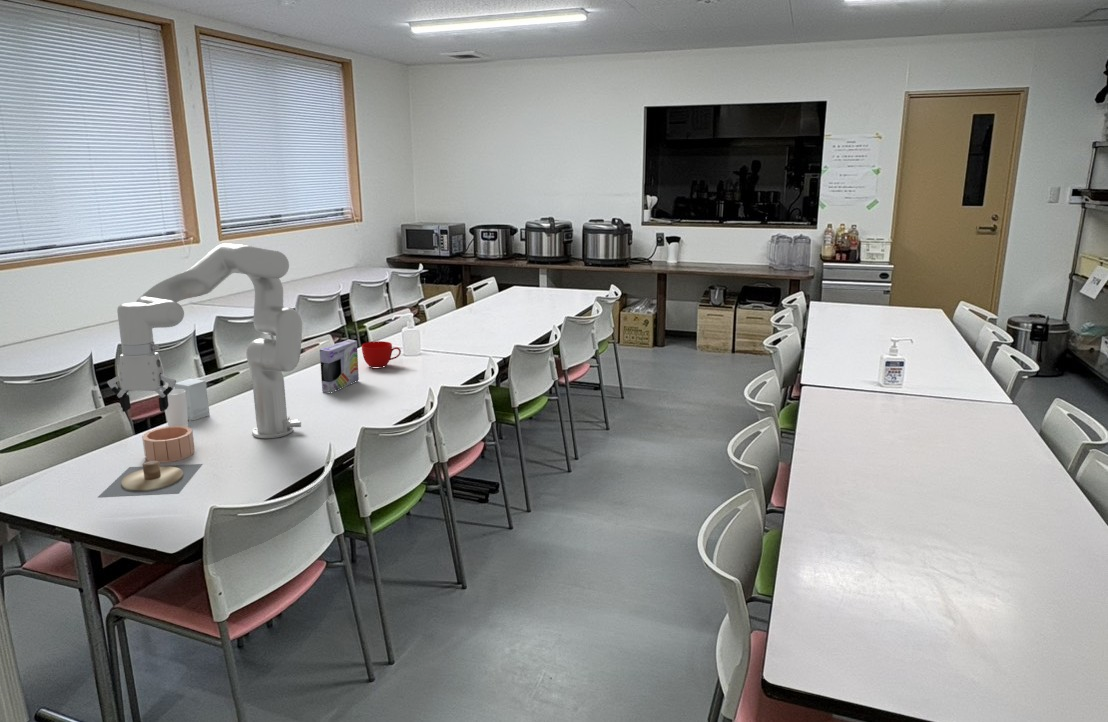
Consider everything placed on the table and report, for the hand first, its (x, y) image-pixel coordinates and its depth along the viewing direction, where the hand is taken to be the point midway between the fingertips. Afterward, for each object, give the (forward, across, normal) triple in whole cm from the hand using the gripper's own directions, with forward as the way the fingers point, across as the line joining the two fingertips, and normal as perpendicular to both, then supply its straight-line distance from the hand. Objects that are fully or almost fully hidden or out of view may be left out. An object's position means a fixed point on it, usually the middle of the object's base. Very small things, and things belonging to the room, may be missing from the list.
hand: (145, 410), depth 196 cm
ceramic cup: (+18, -47, -117) cm, 127 cm away
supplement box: (+19, +9, -53) cm, 58 cm away
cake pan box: (+18, -35, -86) cm, 95 cm away
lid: (+20, -1, +2) cm, 20 cm away
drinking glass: (+20, +6, -34) cm, 40 cm away
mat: (+20, -1, +2) cm, 20 cm away
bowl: (+20, +2, -17) cm, 26 cm away
